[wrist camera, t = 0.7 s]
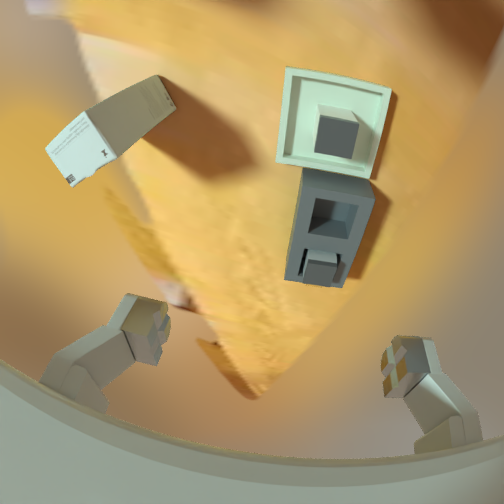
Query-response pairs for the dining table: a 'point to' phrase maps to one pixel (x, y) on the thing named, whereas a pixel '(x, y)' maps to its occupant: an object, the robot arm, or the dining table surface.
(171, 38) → the dining table surface
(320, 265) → the twin plug
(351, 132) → the plug
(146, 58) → the dining table surface
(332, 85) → the tray
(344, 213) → the grey socket block
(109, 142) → the skincare box
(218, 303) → the dining table surface
